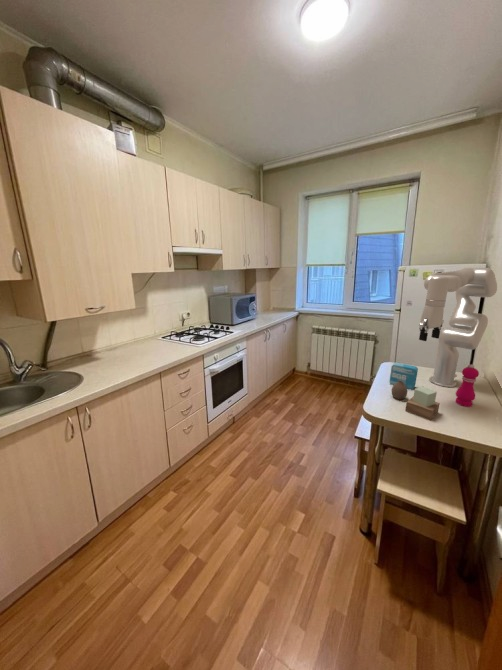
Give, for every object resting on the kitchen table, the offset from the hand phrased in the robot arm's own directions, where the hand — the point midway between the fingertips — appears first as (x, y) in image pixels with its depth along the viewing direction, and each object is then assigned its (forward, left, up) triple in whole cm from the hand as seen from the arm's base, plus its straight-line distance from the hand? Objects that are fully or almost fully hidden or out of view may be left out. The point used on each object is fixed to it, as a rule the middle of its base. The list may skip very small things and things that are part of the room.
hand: (428, 339), depth 125 cm
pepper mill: (-12, +14, -31) cm, 36 cm away
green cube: (+13, +9, -26) cm, 30 cm away
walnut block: (+13, +9, -31) cm, 35 cm away
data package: (-4, -12, -31) cm, 33 cm away
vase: (+10, -4, -31) cm, 32 cm away
